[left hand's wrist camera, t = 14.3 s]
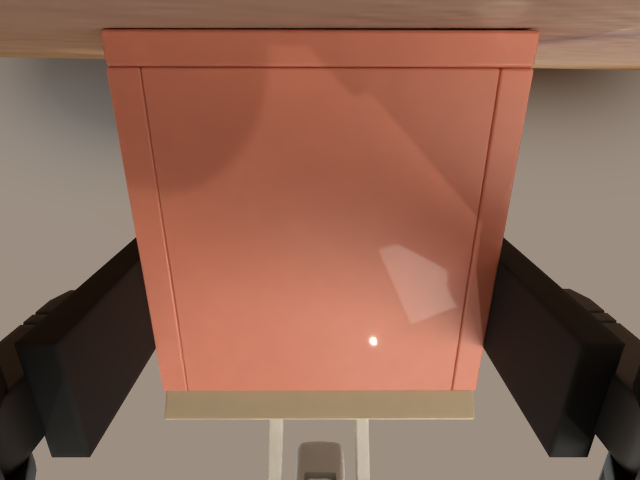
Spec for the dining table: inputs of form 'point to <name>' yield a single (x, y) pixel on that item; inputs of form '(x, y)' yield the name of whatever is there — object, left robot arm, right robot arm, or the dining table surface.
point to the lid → (319, 412)
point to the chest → (319, 199)
